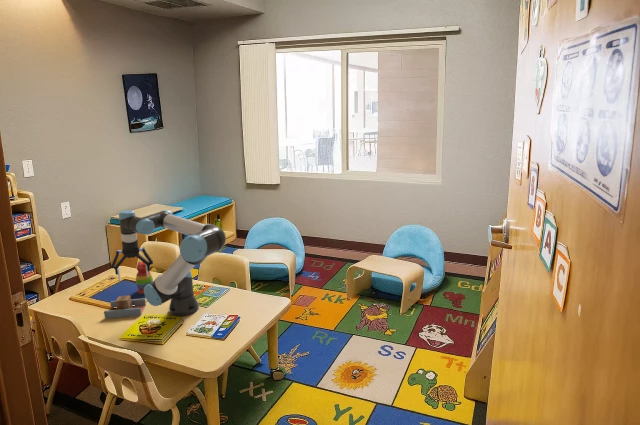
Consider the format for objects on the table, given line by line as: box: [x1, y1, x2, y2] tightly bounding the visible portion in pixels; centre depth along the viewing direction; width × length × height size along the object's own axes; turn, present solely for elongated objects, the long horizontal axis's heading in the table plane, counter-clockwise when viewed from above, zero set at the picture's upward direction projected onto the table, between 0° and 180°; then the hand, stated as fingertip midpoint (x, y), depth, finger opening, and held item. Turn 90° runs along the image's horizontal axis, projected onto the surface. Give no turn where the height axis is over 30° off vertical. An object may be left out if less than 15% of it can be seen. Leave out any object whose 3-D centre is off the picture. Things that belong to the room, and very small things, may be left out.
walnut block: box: [115, 294, 133, 310], centre depth 247 cm, size 6×6×8 cm
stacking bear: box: [135, 261, 154, 295], centre depth 271 cm, size 11×10×18 cm
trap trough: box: [103, 297, 147, 320], centre depth 248 cm, size 18×12×4 cm
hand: (133, 278), depth 242 cm, fingers open, 13 cm apart
